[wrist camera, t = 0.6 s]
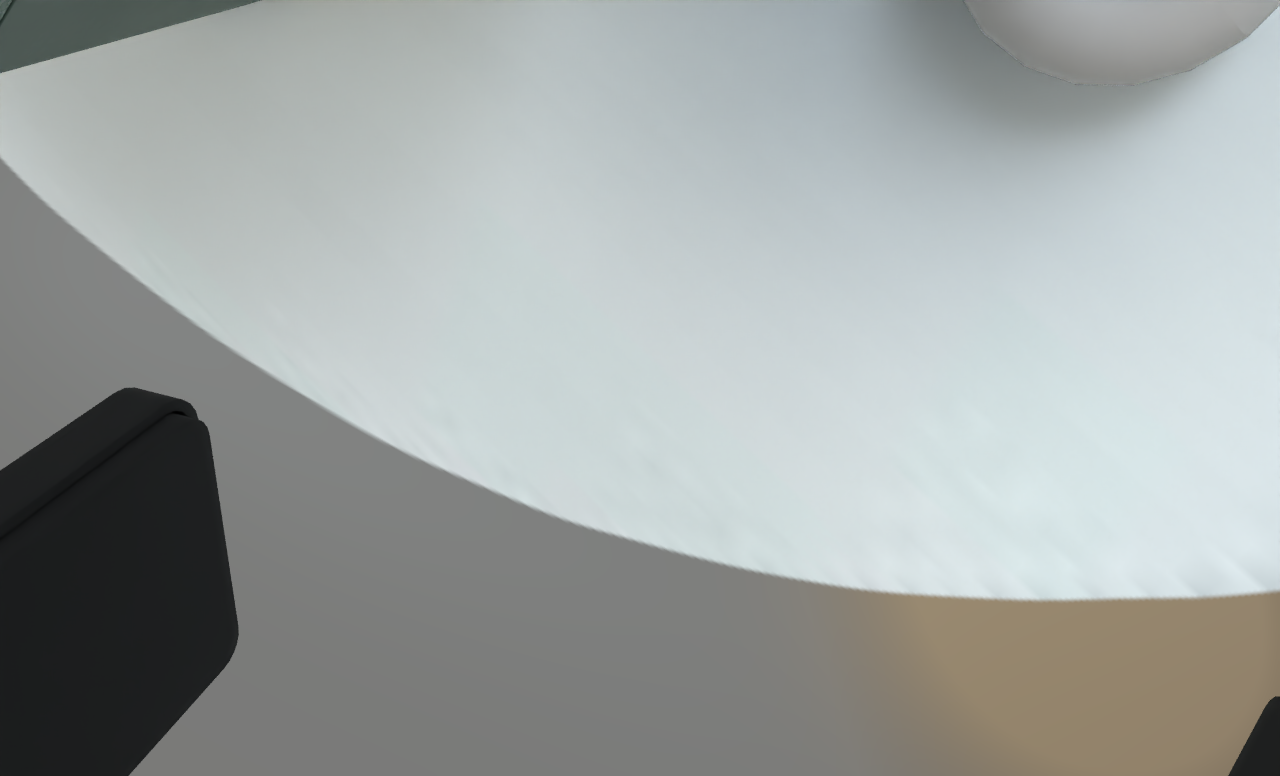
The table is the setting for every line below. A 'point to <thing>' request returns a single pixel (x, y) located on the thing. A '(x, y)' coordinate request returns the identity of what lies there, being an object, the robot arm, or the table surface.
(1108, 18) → the donut
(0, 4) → the bin lid
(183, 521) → the robot arm
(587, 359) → the table surface
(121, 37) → the trash bin
